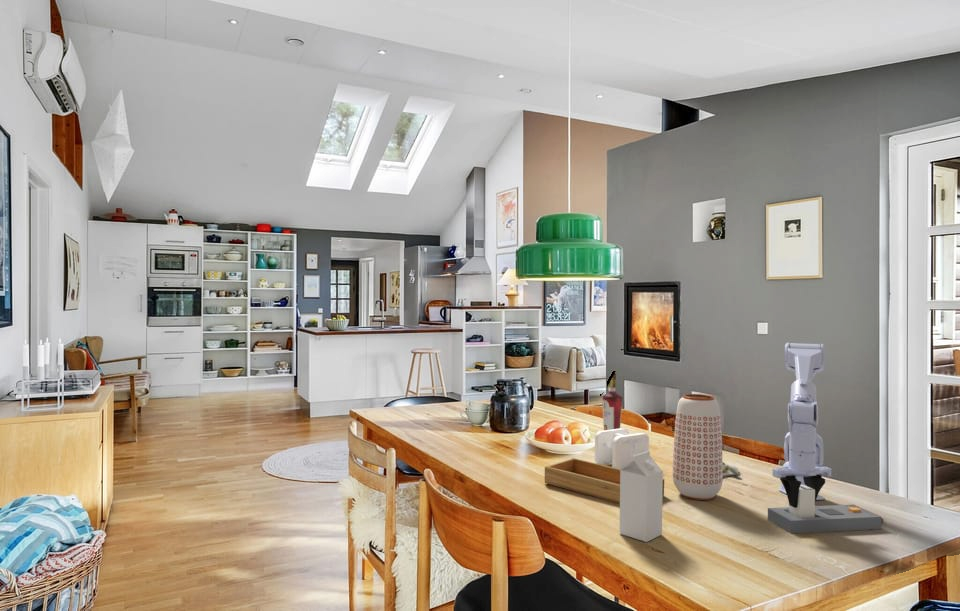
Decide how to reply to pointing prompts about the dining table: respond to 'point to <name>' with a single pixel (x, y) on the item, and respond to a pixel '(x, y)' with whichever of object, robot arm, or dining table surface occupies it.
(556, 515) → the dining table surface
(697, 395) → the patterned ceramic vase
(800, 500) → the block
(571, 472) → the tray
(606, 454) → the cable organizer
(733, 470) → the salad plate
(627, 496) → the milk carton
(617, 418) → the liquor
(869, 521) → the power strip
